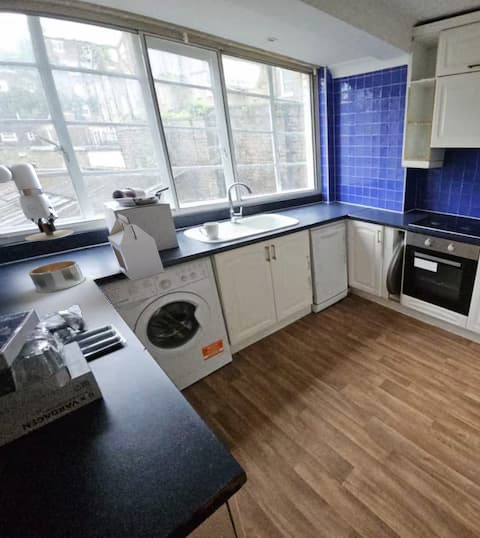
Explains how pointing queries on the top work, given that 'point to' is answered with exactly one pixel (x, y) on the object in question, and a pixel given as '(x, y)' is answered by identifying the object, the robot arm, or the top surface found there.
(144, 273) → the gable box
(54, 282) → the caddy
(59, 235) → the caddy lid
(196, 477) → the top surface
